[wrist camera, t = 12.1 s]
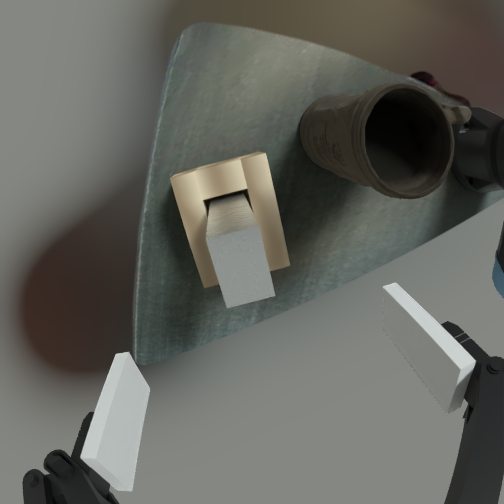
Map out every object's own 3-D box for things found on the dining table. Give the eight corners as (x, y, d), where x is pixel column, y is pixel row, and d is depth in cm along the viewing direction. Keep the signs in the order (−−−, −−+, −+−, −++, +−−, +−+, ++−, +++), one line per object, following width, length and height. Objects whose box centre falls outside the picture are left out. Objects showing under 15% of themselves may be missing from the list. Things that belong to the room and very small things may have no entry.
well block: (258, 151, 39) (265, 153, 33) (281, 249, 44) (290, 266, 38) (176, 173, 39) (170, 178, 33) (205, 269, 44) (204, 288, 38)
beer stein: (322, 189, 42) (399, 231, 23) (278, 124, 38) (332, 112, 19) (401, 133, 40) (501, 142, 21) (364, 70, 36) (456, 40, 17)
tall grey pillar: (241, 188, 39) (258, 225, 23) (251, 231, 42) (275, 295, 25) (210, 196, 39) (205, 239, 23) (222, 238, 41) (227, 308, 25)
